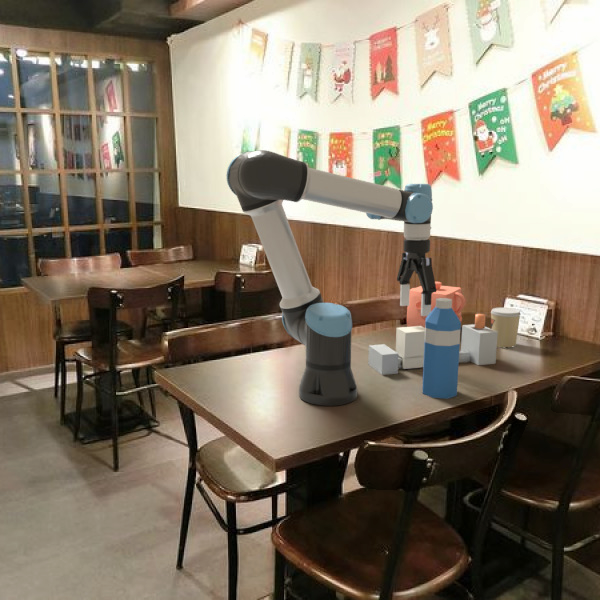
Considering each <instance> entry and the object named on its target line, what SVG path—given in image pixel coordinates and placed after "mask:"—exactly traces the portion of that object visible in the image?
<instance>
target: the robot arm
mask: <svg viewBox="0 0 600 600" xmlns="http://www.w3.org/2000/svg"><path fill="white" fill-rule="evenodd" d="M226 182H227V185H228V187H229V189H230V191H231V192H232V193H233V194H234V195H235V196H236V198H237V201H238V202H239V205H240V207H241V210H242V213H245V214H246V215H249V216H250V217H251V219H252V222H253V225H254V227H255V230H256V233H257V234H258V235H257V236H258V237H259V241H260V243H261V246H262V247H263V250H264V253H265V255H266V258H267V261H268V264H269V266H270V268H271V271H272V274H273V276H274V279H275V282H276V284H277V287H278V290H279V292H280V295H281V297H282V298H281V300H280V302H279V307H280V310H281V319H282V320H281V322H282V325H283V328H284V329H285V331H286V333H287V334H288V335H289V336H290V337H291V338H292V339H294V340H296V341H298V342H299V343H301V344H302V345H303V346H305V368H304V371H303V372H302V373H303V374H302V377H301V379H300V383H299V386H298V396H299V398H300V399H301V400H302V401H303V402H306V403H308V404H311V405H317V406H324V407H325V406H326V407H331V406H332V407H333V406H342V405H347V404H349V403H352V402H354V401H355V400H356V399H357V398H358V386H357V384H356V379H355V376H354V374H353V370H352V336H353V335H352V333H353V332H352V330H353V319H352V313H351V311H350V310H349V309H348V308H347V307H345V306H343V305H341V304H336V303H332V302H324V299H323V296H322V294H321V291H320V289H319V288H317V287H314V286H313V285H312V283H311V280H310V277H309V274H308V271H307V269H306V266H305V264H304V260H303V258H302V255H301V252H300V250H299V247H298V244H297V242H296V239H295V237H294V233H293V231H292V229H291V226H290V223H289V222H290V221H289V220H288V217H287V214H286V212H285V208H284V207H283V203H284V201H288V202H294V203H298V202H300V201H301V200H303V201H309V202H314V203H319V204H323V205H328V206H332V207H337V208H341V209H347V210H351V211H356V212H359V213H365V214H366V216H367V217H368V218H369V219H370V220H378V221H380V220H390V221H391V220H392V221H398V222H403V237H404V239H403V248H402V250H403V252H402V253H401V262H400V265H399V268H398V273H397V275H396V281H397V282H398V283H399V284H400V286H399V287H400V290H399V292H400V293H399V296H400V297H399V306H400V307H406V306H407V307H408V306H409V294H410V289H411V285H410V284H411V282H410V281H411V278H412V276H413V274H414V272H415V274H416V275H417V276H418V281H419V283H420V286H422V289H423V291H422V293H421V294H422V297H421V316H428V315H429V314H430V312H431V295H432V293H433V292H436V285H435V282H436V279H435V275H434V271H433V269H434V268H433V261H432V257H426V254H428V253H429V252H430V251H431V240H430V239H429V238H430V237H431V229H432V225H431V222H432V213H433V209H434V207H433V206H434V205H433V202H432V201H433V192H432V191H433V190H432V186H431V184H429V183H407V184H406V185H405V187H404V190H403V189H398V188H394V187H390V186H387V185H383V184H379V183H374V182H370V181H365V180H362V179H356V178H355V177H354V178H353V177H349V176H346V175H345V176H344V175H340V174H337V173H333V172H328V171H325V170H324V171H323V170H320V169H316V168H312V167H309V165H308V163H307V162H305V161H302V160H298V159H294V158H290V157H289V156H284V155H282V154H279V153H277V152H273V151H270V150H266V149H265V150H255V151H254V150H250V151H249V150H248V151H246V152H242V153H240V154H238V155H237V156H235V157H234V158H233V159H232V160H231V161H230V163H229V164H228V167H227V170H226Z"/></svg>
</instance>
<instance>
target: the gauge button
mask: <svg viewBox="0 0 600 600" xmlns="http://www.w3.org/2000/svg"><path fill="white" fill-rule="evenodd" d="M474 315H475V316H474V324H475V328H478V329H484V328H485V327H486V316H487V315H486V314H484V313H475V314H474Z"/></svg>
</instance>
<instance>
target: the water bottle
mask: <svg viewBox="0 0 600 600" xmlns="http://www.w3.org/2000/svg"><path fill="white" fill-rule="evenodd" d="M461 331H462V322H460V320H459V318H458V317H457V315H456V313H455V312H454V310H453V309H452V299H448V298H438V299H436V306H435V308H434V309H433V310H432V311H431V312H430V314H429V315H428V316H427V317H426V320H425V342H424V365H423V367H422V368H423V371H422V395H426V396H428V397H430V398H433V399H450V398H453V397H456V396H458V381H459V379H458V378H459V351H460V348H461Z"/></svg>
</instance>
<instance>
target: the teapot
mask: <svg viewBox="0 0 600 600" xmlns="http://www.w3.org/2000/svg"><path fill="white" fill-rule="evenodd" d="M435 285H436V292H433V293H432V295H431V311H432V310H433V309H434V308H435V306H436V299H438V298H448V299H452V309H453V310H454V312H455V313H456V315H457V317H458V318H459V320H460V322H461V323H462V321H463V316H462V311H463V309H464V308H465V306H466V301H467V299H466V297H465V296H464V295H463V293H462V290H463V289H462V287H458V286H450V285H443V283H442V281H441V282H440V281H435ZM422 291H423V289H422V286H421V285H420V286H417V287H412V288H410V294H409V306H407V308H406V311H407V312H406V327H413V326H422V327H424V328H425V320H426V317H427V316H421V297H422V294H421V293H422Z"/></svg>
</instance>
